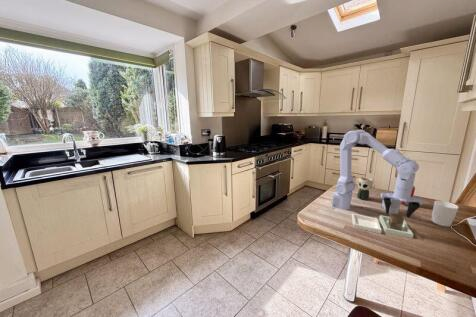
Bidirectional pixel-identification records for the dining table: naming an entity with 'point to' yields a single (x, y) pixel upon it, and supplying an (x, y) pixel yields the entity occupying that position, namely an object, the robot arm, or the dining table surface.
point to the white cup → (444, 213)
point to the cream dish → (366, 223)
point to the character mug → (364, 187)
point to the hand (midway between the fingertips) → (397, 214)
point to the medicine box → (392, 206)
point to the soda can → (410, 196)
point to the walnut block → (396, 221)
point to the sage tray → (403, 232)
